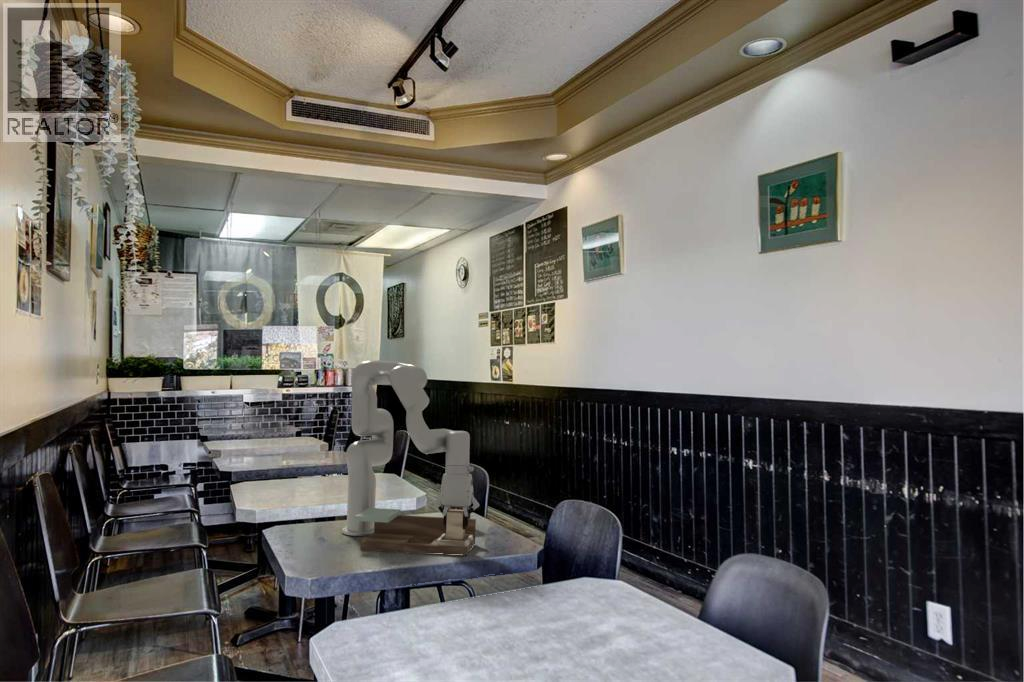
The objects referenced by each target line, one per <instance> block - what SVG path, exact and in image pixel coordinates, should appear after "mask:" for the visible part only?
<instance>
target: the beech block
mask: <svg viewBox="0 0 1024 682" xmlns="http://www.w3.org/2000/svg"><path fill="white" fill-rule="evenodd" d="M463 517H464V511H463V510H451V509H450V510H449V511H448V512H447V523H446V538H447V539H462V538H463V537H464V536H465V529H463Z"/></svg>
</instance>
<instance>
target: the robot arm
mask: <svg viewBox="0 0 1024 682" xmlns="http://www.w3.org/2000/svg"><path fill="white" fill-rule="evenodd" d="M427 383H428V376H427V373H426V371H425V370H424V369H423V368H422V367H421V366H418V365H414V364H409V363H403V362H399V361H391V360H390V361H389V360H378V359H376V360H375V359H374V360H373V359H372V360H366V361H365V360H364V361H362V362H360V363H359V364H358V365H356V366H355V367H354V369H353V371H352V374H351V393H352V394H351V395H352V402H351V430H352V433H353V434H354V435H355V436H359V437H371V439H363V440H357V441H354V442H353V443H350V444H349V446H348V447H347V449H346V453H345V459H346V464H347V507H346V509H347V510H346V526H344V527H342V528H341V533H342V534H344V535H346V536H352V537H353V536H354V537H362V536H363V537H365V536H369V535H371V534H372V533H374V522H367V521H354V519H355V515H357V514H359V513H361V512H363V511H364V510H366V509H368V508H376V497H377V495H376V494H377V489H376V488H377V478H376V474H375V471H374V469H373V467H377V466H383V465H386V464H387V463H389V462H390V461H391V459H392V456H393V449H394V419H393V416H392V414H391V412H389V410H386V409H384V408H378V396H377V392H376V389H375V388H374V386H377V385H380V386H381V385H382V386H391V387H392V388H393V390H394V392H395V393H396V395H397V397H398V399H399V401H400V403H401V404H402V406H403V408H404V409H405V411H406V416H405V425H406V426H405V427H406V430H407V433H408V435H409V437H410V439H411V441H412V442H413V444H414V445H415V447H416V448H417V449H418V451H420V452H421V453H423V454H427V455H429V454H437V453H444V452H445V473H443V475H442V479H441V486H440V495H439V496H437V498H436V500H435V501H434V502H433V506H435V508H437V509H438V511H439V512H441V514H442V515H443V517H444V525H445V529H446V523H447V512H448V511H449V508H450V506H451V507H463V511H464V517H463V529H466V527H467V526H468V517H469V514H470V515H471V514H472V512H473V511H475V510H476V509H478V508H479V507H480V503H479V502H478V500H477V499H476V498H475V496H474V485H473V483H474V481H473V476H472V474H471V473H472V472H474V469H475V468H474V466H471V465H470V449H471V448H470V446H471V445H470V444H471V443H470V442H471V436H470V433H469V432H468V431H465V430H452V429H447V428H434V429H430V428H429V426H428V425H427V424H426V422H425V420H424V417H423V411H424V410H425V409H426V408H427V407H428V405H429V404H430V397H429V396H428V395H427V392H426V391H425V389H424V388H425V387H426V385H427ZM470 472H471V473H470ZM472 504H473V505H472ZM470 505H472V506H471V508H470V509H469V508H468V507H469V506H470Z"/></svg>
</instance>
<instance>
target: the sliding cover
mask: <svg viewBox="0 0 1024 682" xmlns="http://www.w3.org/2000/svg"><path fill="white" fill-rule="evenodd" d="M401 511H402V510H401V509H398V508H397V509H396V508H395V509H394V508H381V507H380V508H378V507H377V508H376V507H375V508H368V509H366V510H364V511H363V512H361V513H359V514H357V515H355V519H354V521H367V522H386V523H388V522H390V521H391V520H393V519H394V518H396V517H397V516H398V515H401V513H402V512H401Z"/></svg>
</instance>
